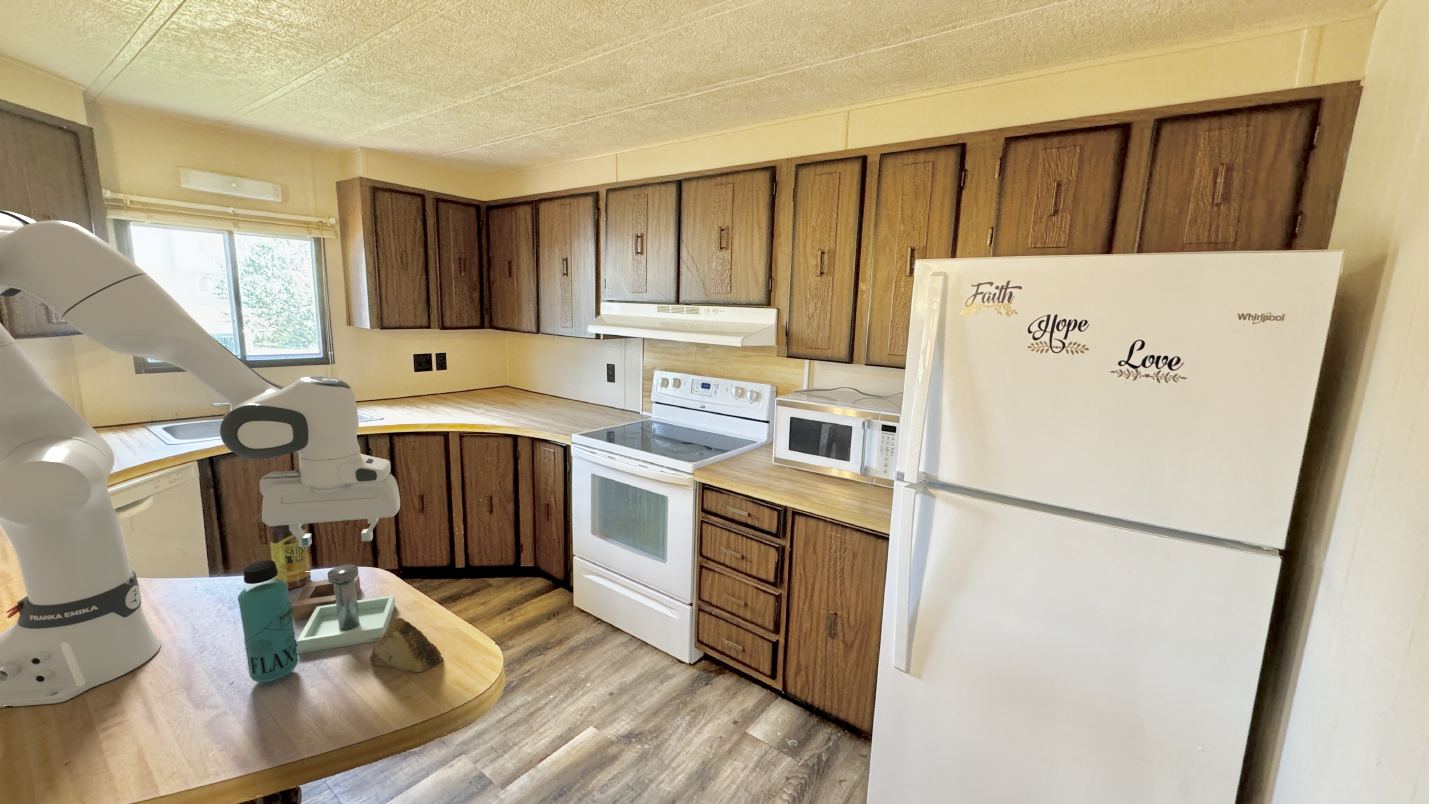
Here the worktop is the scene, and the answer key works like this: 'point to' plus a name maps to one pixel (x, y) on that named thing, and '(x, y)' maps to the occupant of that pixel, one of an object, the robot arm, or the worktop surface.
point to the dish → (327, 634)
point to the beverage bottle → (267, 623)
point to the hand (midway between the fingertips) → (337, 542)
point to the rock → (405, 649)
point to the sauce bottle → (289, 556)
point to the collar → (316, 597)
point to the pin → (345, 595)
